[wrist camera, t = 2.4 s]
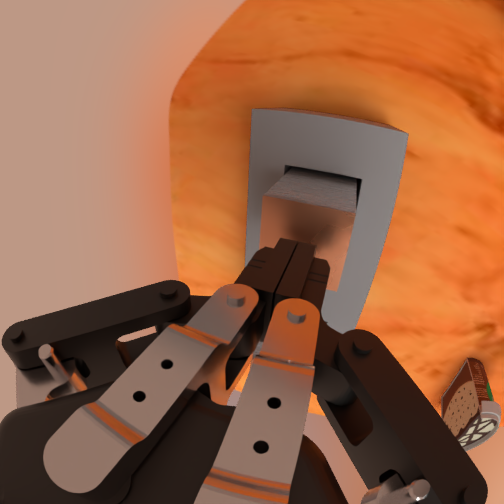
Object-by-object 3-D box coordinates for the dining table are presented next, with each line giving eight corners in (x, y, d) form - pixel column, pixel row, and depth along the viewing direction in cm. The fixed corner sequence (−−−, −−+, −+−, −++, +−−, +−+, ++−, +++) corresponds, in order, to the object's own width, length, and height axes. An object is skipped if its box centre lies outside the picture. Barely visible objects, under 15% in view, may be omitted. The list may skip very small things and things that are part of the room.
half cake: (468, 401, 29) (471, 455, 21) (437, 402, 31) (437, 458, 23) (505, 349, 23) (520, 410, 15) (471, 349, 25) (483, 415, 17)
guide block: (284, 107, 21) (252, 108, 15) (390, 125, 19) (408, 133, 12) (266, 309, 33) (241, 359, 26) (341, 327, 30) (330, 383, 24)
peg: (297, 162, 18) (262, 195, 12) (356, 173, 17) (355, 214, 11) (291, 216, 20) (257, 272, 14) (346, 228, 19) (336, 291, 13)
